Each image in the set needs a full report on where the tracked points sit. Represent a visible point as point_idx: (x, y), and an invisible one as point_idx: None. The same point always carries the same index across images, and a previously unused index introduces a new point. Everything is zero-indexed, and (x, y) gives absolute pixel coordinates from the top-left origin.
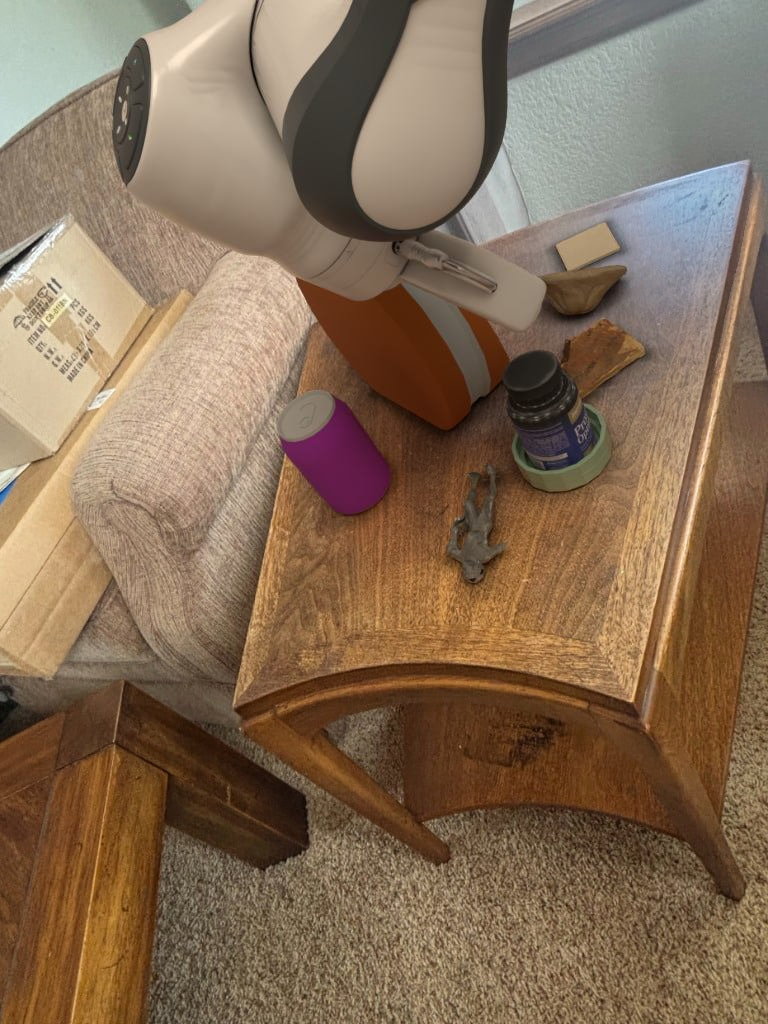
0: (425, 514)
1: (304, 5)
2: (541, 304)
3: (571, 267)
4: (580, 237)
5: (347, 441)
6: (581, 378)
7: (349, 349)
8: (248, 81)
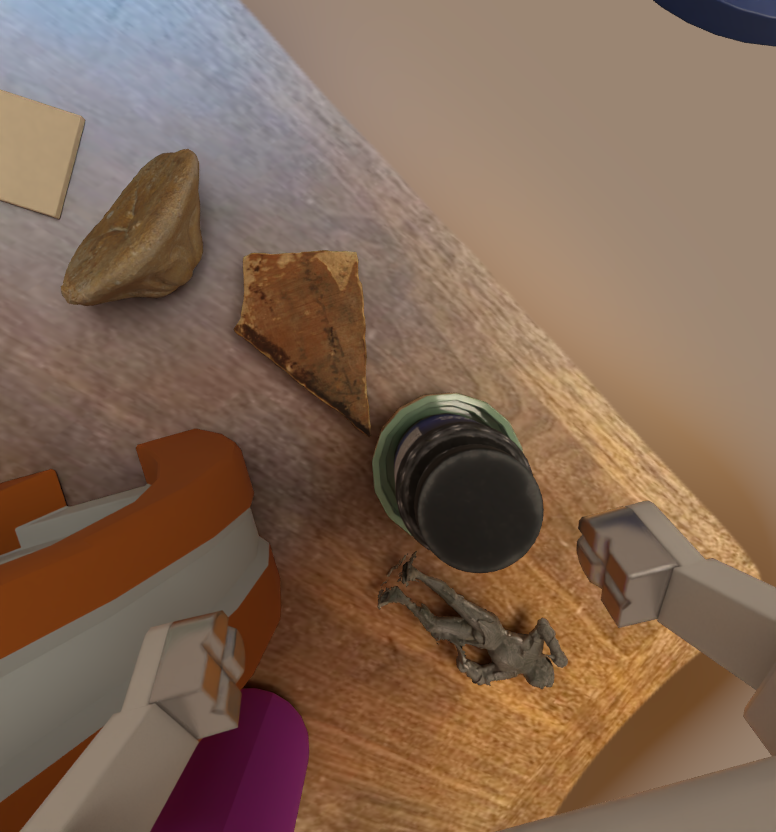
0: (378, 672)
1: None
2: (647, 501)
3: (51, 206)
4: None
5: None
6: (343, 363)
7: None
8: None
